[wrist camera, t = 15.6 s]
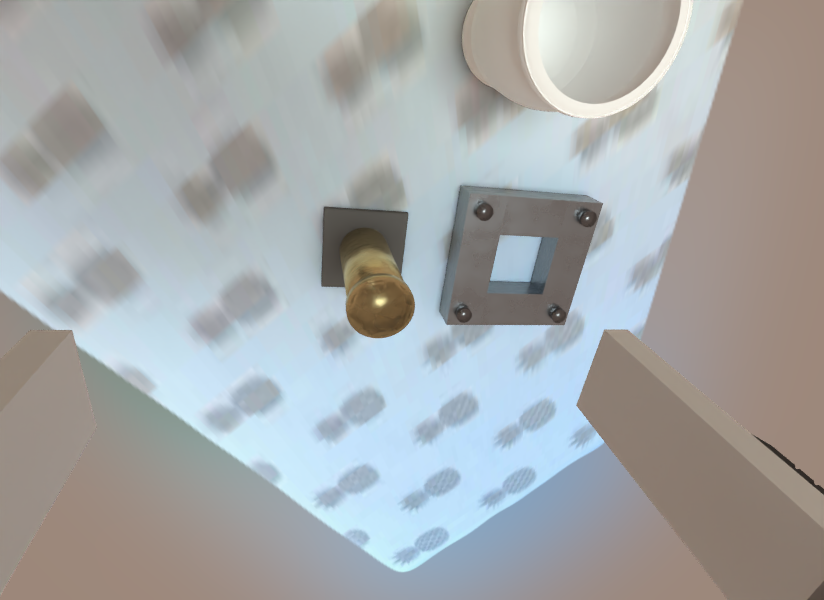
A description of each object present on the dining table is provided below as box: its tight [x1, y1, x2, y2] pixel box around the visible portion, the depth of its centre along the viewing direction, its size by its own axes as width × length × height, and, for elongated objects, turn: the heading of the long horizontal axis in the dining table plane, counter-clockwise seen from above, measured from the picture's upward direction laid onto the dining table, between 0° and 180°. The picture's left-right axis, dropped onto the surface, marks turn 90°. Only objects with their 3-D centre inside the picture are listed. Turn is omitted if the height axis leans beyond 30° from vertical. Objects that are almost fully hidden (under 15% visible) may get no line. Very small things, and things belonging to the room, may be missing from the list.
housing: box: [439, 186, 603, 325], centre depth 47 cm, size 14×14×4 cm
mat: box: [322, 207, 408, 287], centre depth 44 cm, size 8×8×1 cm
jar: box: [462, 0, 693, 118], centre depth 32 cm, size 11×10×15 cm
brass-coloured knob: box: [340, 228, 415, 338], centre depth 39 cm, size 5×5×12 cm
